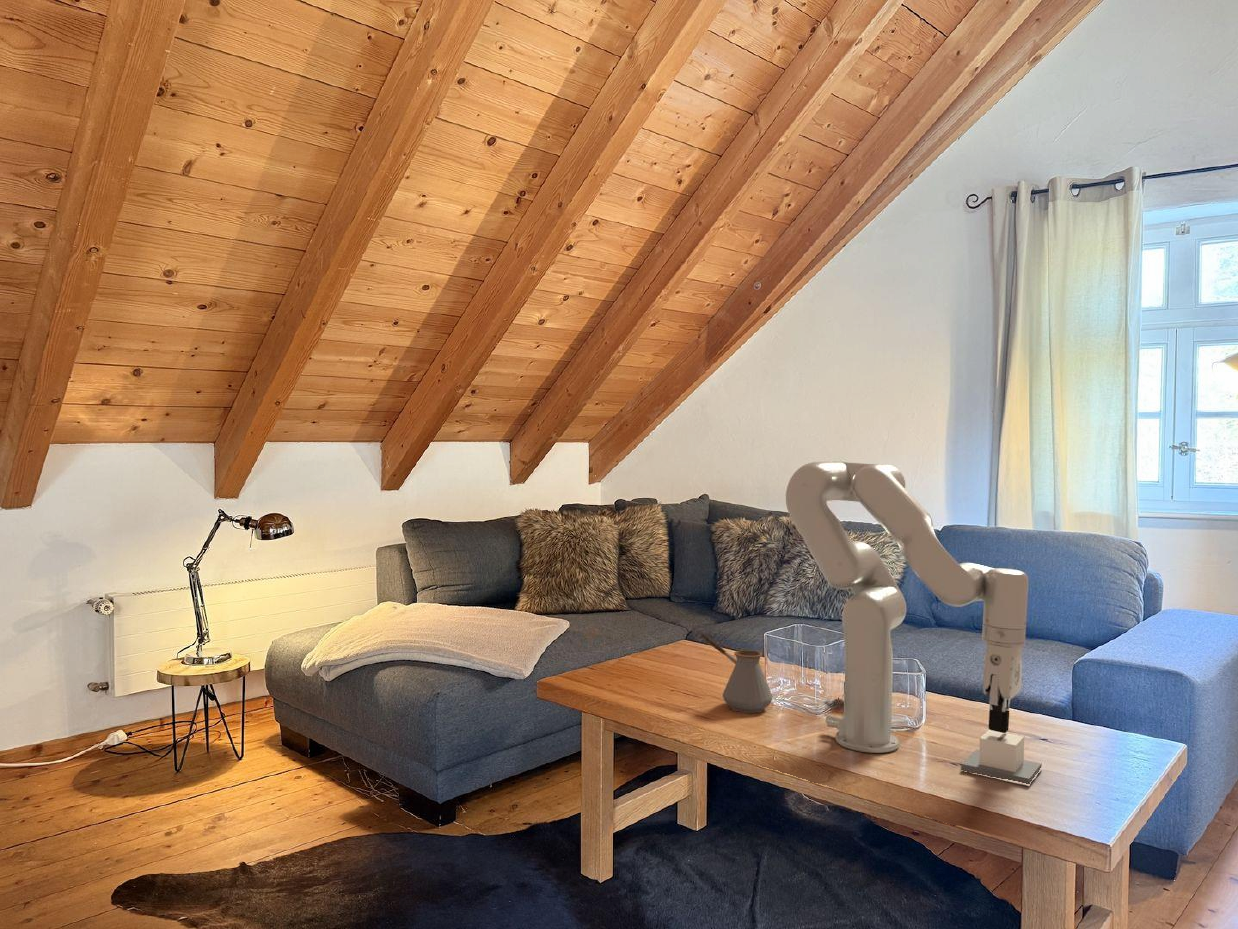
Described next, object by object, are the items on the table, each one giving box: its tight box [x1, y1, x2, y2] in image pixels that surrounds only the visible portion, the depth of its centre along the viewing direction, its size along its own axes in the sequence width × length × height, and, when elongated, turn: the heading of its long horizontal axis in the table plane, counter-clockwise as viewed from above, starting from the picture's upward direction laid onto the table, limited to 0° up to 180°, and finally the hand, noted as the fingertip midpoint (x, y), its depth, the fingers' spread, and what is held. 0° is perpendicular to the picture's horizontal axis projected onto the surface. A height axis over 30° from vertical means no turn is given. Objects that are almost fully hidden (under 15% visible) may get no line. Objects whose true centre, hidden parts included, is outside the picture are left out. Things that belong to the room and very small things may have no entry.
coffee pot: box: [697, 632, 773, 714], centre depth 212 cm, size 21×12×15 cm, turn 41°
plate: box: [960, 749, 1043, 784], centre depth 170 cm, size 12×10×2 cm
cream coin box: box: [978, 729, 1025, 772], centre depth 170 cm, size 6×6×5 cm
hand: (998, 730), depth 170 cm, fingers closed
